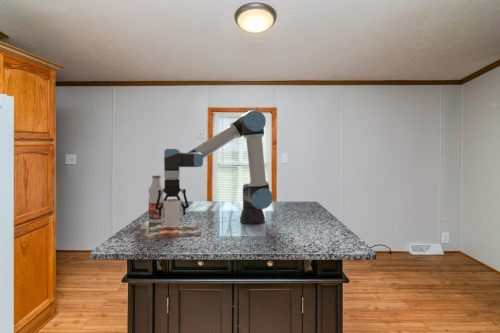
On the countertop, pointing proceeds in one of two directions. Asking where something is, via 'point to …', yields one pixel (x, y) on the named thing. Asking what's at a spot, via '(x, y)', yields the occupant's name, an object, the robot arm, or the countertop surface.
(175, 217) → the foam cup
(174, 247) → the countertop surface
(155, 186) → the fruit juice
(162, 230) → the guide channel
